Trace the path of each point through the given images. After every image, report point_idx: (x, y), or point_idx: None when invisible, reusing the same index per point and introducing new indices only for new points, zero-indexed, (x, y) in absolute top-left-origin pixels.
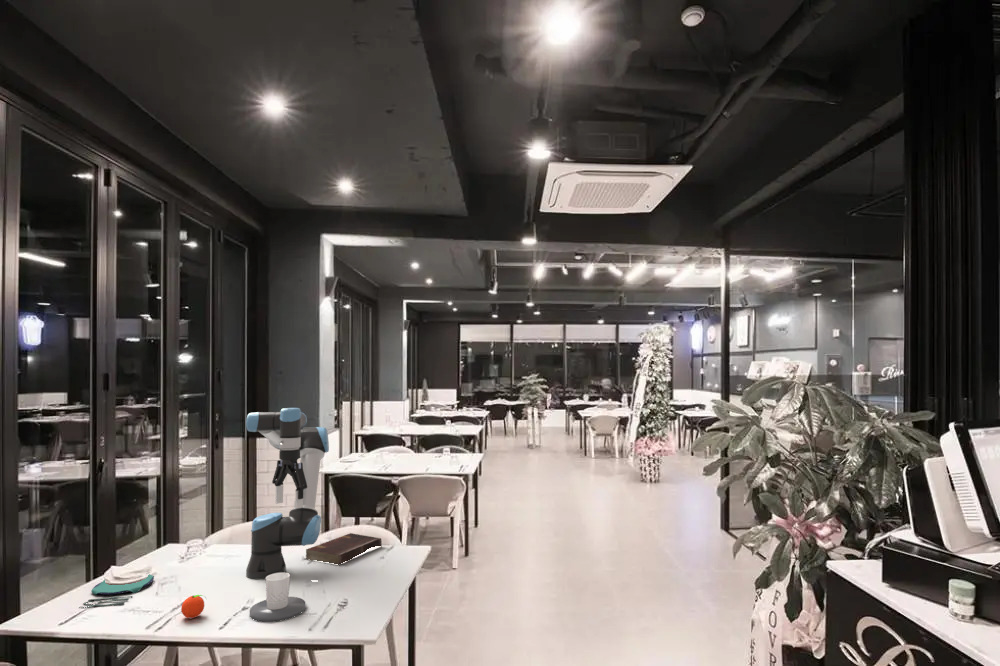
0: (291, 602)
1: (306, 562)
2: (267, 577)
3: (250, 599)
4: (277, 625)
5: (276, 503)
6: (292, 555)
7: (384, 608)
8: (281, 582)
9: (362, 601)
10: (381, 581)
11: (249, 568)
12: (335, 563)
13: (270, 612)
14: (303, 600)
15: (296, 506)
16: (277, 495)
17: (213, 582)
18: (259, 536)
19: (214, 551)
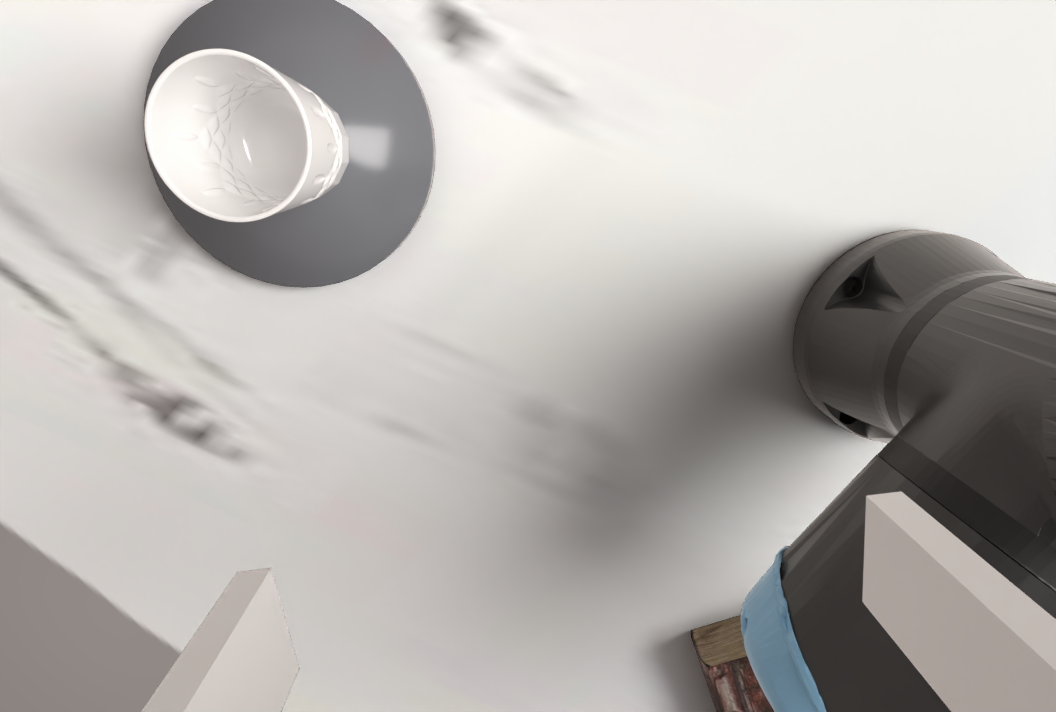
0: (299, 224)
1: None
2: (280, 82)
3: (563, 104)
4: (108, 63)
5: (872, 497)
6: None
7: (18, 518)
8: (157, 130)
9: (157, 492)
10: (341, 659)
11: (934, 242)
12: (713, 629)
13: None
14: (285, 282)
15: (221, 596)
16: (964, 603)
17: (1003, 46)
18: (1039, 329)
19: None
